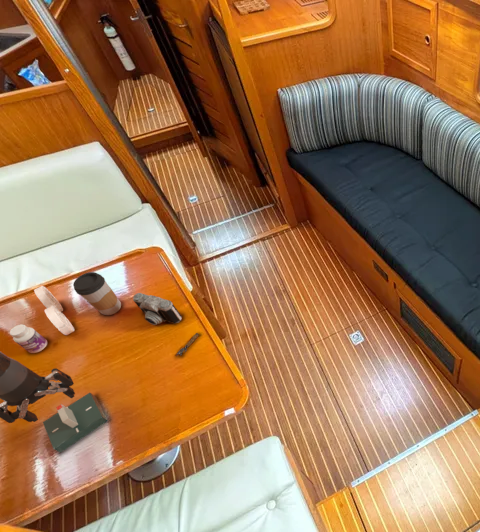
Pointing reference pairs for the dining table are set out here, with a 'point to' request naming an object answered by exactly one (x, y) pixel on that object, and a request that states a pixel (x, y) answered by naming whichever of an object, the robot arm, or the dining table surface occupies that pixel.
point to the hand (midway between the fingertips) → (54, 406)
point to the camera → (157, 309)
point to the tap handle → (67, 416)
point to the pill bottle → (28, 338)
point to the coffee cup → (97, 293)
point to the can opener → (188, 344)
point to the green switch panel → (86, 417)
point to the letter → (54, 310)
